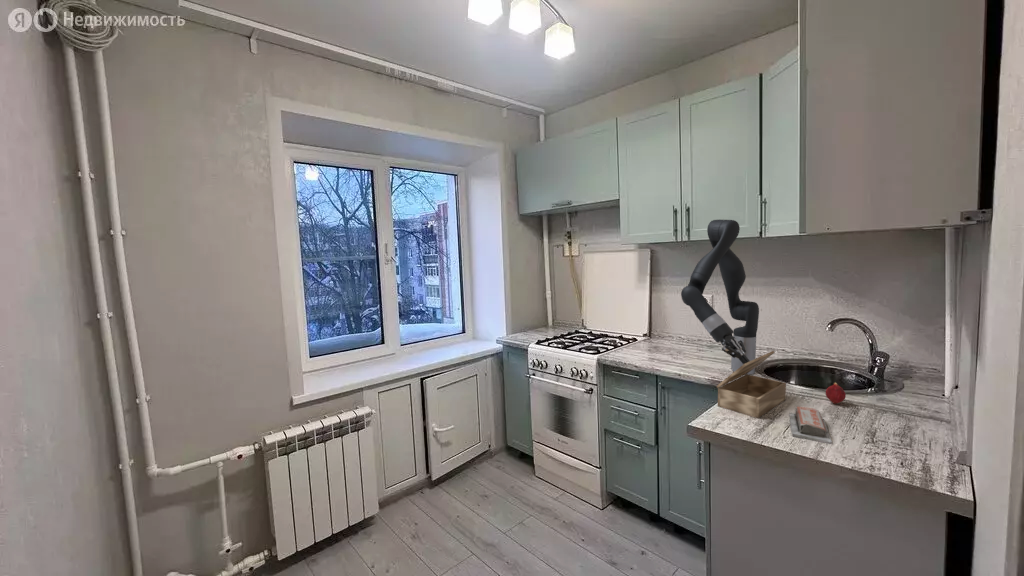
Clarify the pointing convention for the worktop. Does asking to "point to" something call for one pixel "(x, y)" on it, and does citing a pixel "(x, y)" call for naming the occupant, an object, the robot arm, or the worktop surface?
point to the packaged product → (809, 425)
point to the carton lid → (745, 369)
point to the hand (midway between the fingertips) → (748, 364)
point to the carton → (752, 395)
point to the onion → (835, 393)
